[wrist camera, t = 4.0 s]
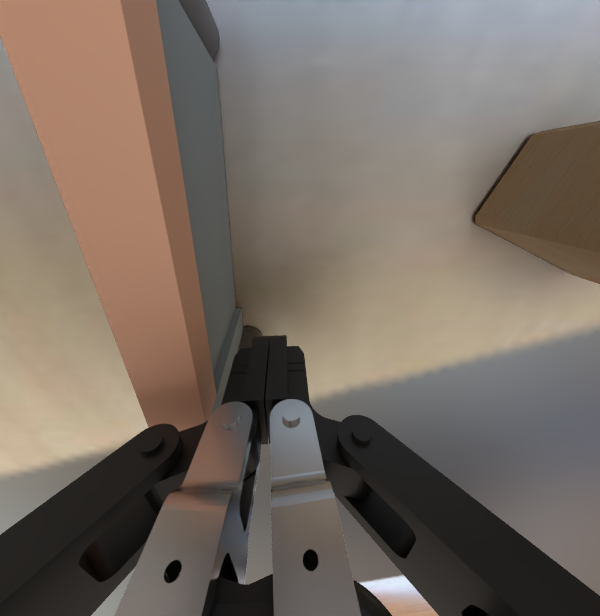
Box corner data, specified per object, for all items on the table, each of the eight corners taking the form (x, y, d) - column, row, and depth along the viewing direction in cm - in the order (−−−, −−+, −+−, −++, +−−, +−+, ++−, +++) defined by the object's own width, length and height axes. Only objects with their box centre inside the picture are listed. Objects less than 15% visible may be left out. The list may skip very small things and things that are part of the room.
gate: (173, 5, 10) (-305, -767, 2) (222, 11, 10) (-13, -662, 2) (215, 329, 18) (160, 459, 10) (243, 329, 18) (212, 456, 10)
